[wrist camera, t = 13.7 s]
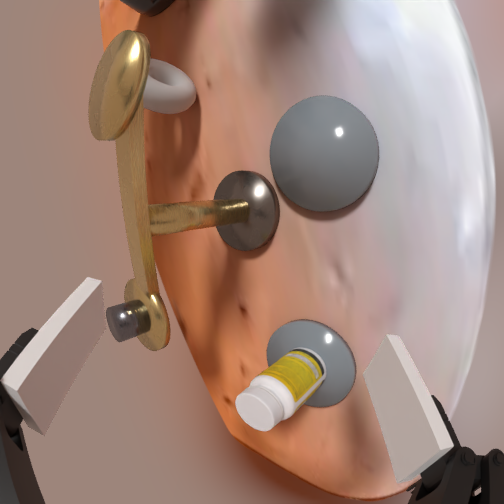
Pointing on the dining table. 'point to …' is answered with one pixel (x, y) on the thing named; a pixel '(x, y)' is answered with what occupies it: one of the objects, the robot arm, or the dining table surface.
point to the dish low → (327, 347)
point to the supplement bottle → (281, 389)
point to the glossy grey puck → (324, 153)
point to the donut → (168, 89)
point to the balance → (169, 214)
